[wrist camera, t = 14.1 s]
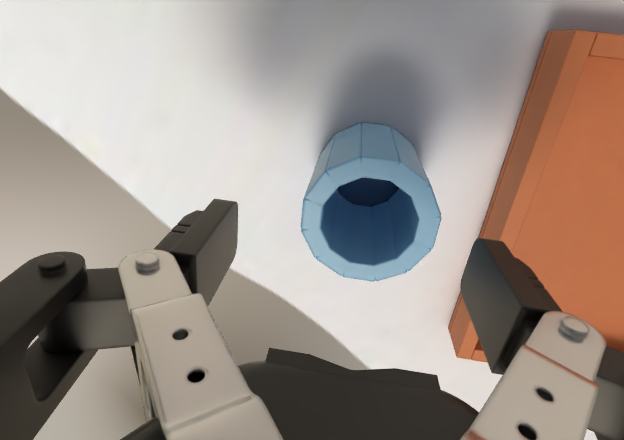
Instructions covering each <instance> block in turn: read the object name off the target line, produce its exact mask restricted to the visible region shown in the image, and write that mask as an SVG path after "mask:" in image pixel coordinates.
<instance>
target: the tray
mask: <svg viewBox="0 0 624 440" xmlns="http://www.w3.org/2000/svg"><path fill="white" fill-rule="evenodd" d="M479 238H484V239H491V240H498V241H503V242H504V243H505V244H506V246H507V247H508V249H509V250H510V252H511V253H512V254H513V256H514V257H515V258H518V259H520V260H521V261H522V262H524V263H525V264H526V265H527V266H529V267H530V268H531V269H532V270H533V272H534V273H535V274H536V276H537V277H538V280H540V281H541V283H542V284H543V285H544V289H547V291H548V292H549V294H550V295H551V296H552V298H553V299H554V300H555V302H556V303H557V304H558V306H559V307H560V309H561V310H562V311H563V312H565V313H569V314H572V315H575V316H577V317H579V318H581V319H583V320H585V321H587V322H588V323H590V324H591V325H593V326H594V327H595V328H596V329H598V330H599V332H600V333H601V334H602V335H603V336H604V338H605V340H606V346H608V347H611V348H613V349H616V350H619V351H622V352H624V35H622V34H613V33H603V32H594V31H584V30H557V31H548V33H547V36H546V39H545V42H544V45H543V48H542V51H541V54H540V57H539V60H538V63H537V66H536V69H535V72H534V75H533V78H532V81H531V83H530V86H529V89H528V92H527V95H526V98H525V101H524V104H523V107H522V110H521V113H520V116H519V119H518V122H517V125H516V128H515V131H514V134H513V137H512V140H511V143H510V146H509V149H508V152H507V155H506V158H505V161H504V164H503V167H502V170H501V173H500V176H499V179H498V182H497V185H496V188H495V191H494V194H493V197H492V200H491V203H490V206H489V209H488V212H487V215H486V218H485V221H484V224H483V227H482V230H481V233H480V236H479ZM448 329H449V333H450V336H451V339H452V342H453V346H454V349H455V353H456V356H457V357H458V358H464V359H471V360H475V361H481V362H487V359H486V357H485V354H484V351H483V349H482V346H481V344H480V341H479V339H478V336H477V334H476V331H475V329H474V326H473V323H472V321H471V318H470V316H469V313H468V311H467V308H466V306H465V303H464V300H463V298H462V295H461V292H460V295H459V298H458V301H457V304H456V307H455V310H454V313H453V316H452V319H451V322H450V325H449V328H448ZM487 363H488V362H487Z"/></svg>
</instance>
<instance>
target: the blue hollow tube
mask: <svg viewBox="0 0 624 440" xmlns="http://www.w3.org/2000/svg"><path fill="white" fill-rule="evenodd" d="M363 177H365V178H372V179H380V180H387V181H391V182H392V183H393V184H395V185H396V186H397V187H399V189H398V190H397V192H396V193H395V194H394V195H393V196H392V197H391V198H390V199H389V200H388V201H386V202H383V203H380V204H378V205H375V206H372V207H369V206H362V205H355V204H352V203H351V202H349V201H348V200H347V199H345V198H344V197H342V196H341V195H340V194H339V193H338V190H337V188H338V187H339V186H341V185H344V184H347V183H349V182H352V181H355V180H357V179H360V178H363ZM440 221H441V213H440V210H439V207H438V204H437V201H436V198H435V195H434V193H433V190H432V187H431V184H430V182H429V180H428V178H427V176H426V173H425V171H424V169H423V167H422V165H421V162H420V160H419V158H418V156H417V154H416V151H415V149H414V147H413V145H412V144H411V142H410V141H409V140H408V139H406V138H405V137H404V136H402V135H401V134H400V133H399V132H397V131H396V130H395V129H394V128H392V127H389V126H387V125H379V124H371V123H362V124H361V123H359V124H357V125H355V126H352V127H350V128H347V129H345V130H343V131H340V132H338V133H337V135H334V136H333V138H332V139H331V140H330V142H329V143H328V144H327V146H326V147H325V148H324V150H323V151H322V152H321V154H320V157H319V159H318V162H317V164H316V167H315V170H314V172H313V175H312V178H311V180H310V183H309V186H308V188H307V191H306V194H305V197H304V199H303V208H302V219H301V229H302V230H301V232H302V234H303V236H304V238H305V240H306V241H307V243H308V245H309V247H310V249H311V251H312V253H313V255H314V257H316V259H317V260H318V261H320V262H321V263H323V264H324V265H326V266H327V267H329V268H330V269H332V270H333V271H334V272H336V273H337V274H339V275H341V276H342V275H343V277H347V278H354V279H361V280H367V281H375V280H376V281H379V280H382V279H386V278H389V277H393V276H396V275H399V274H403V273H406V272H407V271H410V270H411V269H412V268H413V267H414V266H415V265H416V264H417V263H418V262H419V261H420V260H421V259H422V258H423V257H424V256H425V255H426V254H428V253H429V252H430V251H431V248H433V246H434V243H435V239H436V236H437V232H438V228H439V225H440Z"/></svg>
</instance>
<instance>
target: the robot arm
mask: <svg viewBox="0 0 624 440" xmlns="http://www.w3.org/2000/svg"><path fill="white" fill-rule="evenodd" d="M237 233H238V204H237V202H234V201H227V200H220V199H214V200H213V201H212V202H211V203H210V204H209V205H208V207H207V208H206V209H205V210H204V211H198V210H197V211H195V212H192V213H190V214H188V215H186V216H184V217H183V219H182V220H181V221H180V222H179V223H178V225H176V226H175V227H174V228H173V229H172V231H171V232H169V233H168V234H167V236H166V237H165V238H164V239H163V240H162V241H161V242H160V243H159V244H158V245H157V246H156V247H155V248H154V249H153V250H143V251H138V252H135V253H132V254H130V255H128V256H126V257H125V258H123V259H122V260H121V262H120V263H119V266H118V268H104V269H86V265H85V259H84V258H83V257H82V256H81V255H79V254H76V253H73V252H54V253H48V254H44V255H41V256H38V257H36V258H33V259H31V260H29V261H28V262H26V263H25V264H24V265H22V266H21V267H20V268H18V269H17V270H16V271H14V272H13V273H12V274H10V275H9V276H8V277H6V278H5V279H4V280H2V281H1V282H0V440H33V439H34V437H35V436H36V434H37V433H38V432H39V430H40V429H41V428H42V426H43V425H44V424H45V422H46V421H47V419H48V418H49V417H50V415H51V414H52V413H53V411H54V410H55V409H56V407H57V406H58V404H59V403H60V402H61V400H62V399H63V398H64V396H65V395H66V393H67V392H68V391H69V389H70V388H71V386H72V385H73V384H74V382H75V381H76V380H77V378H78V377H79V376H80V374H81V373H82V371H83V370H84V369H85V367H86V366H87V365H88V363H89V362H90V360H91V359H92V358H93V356H94V355H95V354H96V352H97V351H98V349H107V348H118V347H129V346H130V350H131V354H132V359H133V363H134V368H135V372H136V376H137V381H138V385H139V389H140V394H141V398H142V403H143V408H144V414H145V419H146V423H145V424H143V425H142V426H140V427H139V428H137V429H136V430H134V431H133V432H131V433H130V434H128V435H127V436H125V437H123V438H122V439H120V440H584V437H585V433H586V430H587V429H589V430H591V431H593V432H594V433H595V435H596V437H597V439H598V440H624V352H622V351H619V350H616V349H613V348H611V347H608V346H606V340H605V338H604V336H603V335H602V334H601V333H600V332H599V330H598V329H596V328H595V327H594V326H593V325H591V324H590V323H588V322H587V321H585V320H583V319H581V318H579V317H577V316H575V315H572V314H569V313H565V312H563V311H562V310H561V309H560V307H559V306H558V304H557V303H556V302H555V300H554V299H553V298H552V296H551V295H550V294H549V292H548V291H547V289H544V285H543V284H542V283H541V281H540V280H538V277H537V276H536V274H535V273H534V272H533V270H532V269H531V268H530V267H529V266H527V265H526V264H525V263H524V262H522V261H521V260H520V259H518V258H515V257H514V256H513V254H512V253H511V252H510V250H509V249H508V247H507V246H506V244H505V243H504V242H503V241H498V240H491V239H484V238H477V239H476V241H475V242H474V244H473V247H472V250H471V253H470V256H469V259H468V261H467V264H466V267H465V270H464V273H463V276H462V279H461V295H462V298H463V300H464V303H465V306H466V308H467V311H468V313H469V316H470V318H471V321H472V323H473V326H474V329H475V331H476V334H477V336H478V339H479V341H480V344H481V346H482V349H483V351H484V354H485V357H486V359H487V362H488V364H489V367H490V369H491V372H492V373H496V374H502V375H503V376H502V377H501V379H500V381H499V382H498V384H497V385H496V387H495V389H494V390H493V392H492V393H491V395H490V397H489V398H488V400H487V401H486V403H485V404H484V406H483V408H482V409H481V411H480V412H478V411H476V410H475V409H474V408H472V407H471V406H470V405H468V404H467V403H465V402H464V401H462V400H460V399H459V398H457V397H455V396H453V395H451V394H449V393H447V392H445V391H442V390H440V386H439V382H438V377H437V375H432V374H426V373H420V372H414V371H408V370H401V369H395V368H394V369H374V370H350V369H347V368H344V367H341V366H338V365H336V364H333V363H331V362H328V361H326V360H323V359H320V358H318V357H315V356H312V355H310V354H304V353H298V352H292V351H285V350H279V349H273V348H269V351H268V354H267V358H266V361H256V362H250V363H246V364H242V365H239V366H238V365H237V363H236V361H235V359H234V358H233V356H232V353H231V351H230V350H229V347H228V346H227V344H226V342H225V340H224V338H223V336H222V334H221V332H220V330H219V328H218V326H217V324H216V322H215V320H214V318H213V316H212V314H211V312H210V310H209V308H208V305H209V303H210V302H211V300H212V298H213V296H214V294H215V292H216V291H217V289H218V287H219V285H220V283H221V281H222V280H223V278H224V276H225V274H226V272H227V271H228V269H229V267H230V265H231V263H232V262H233V260H234V257H235V254H236V249H237ZM37 335H38V336H39V338H38V339H37V340H36V341H35V342H34V343H33V344H32V345H31V346H30V347H29V348H28V346H29V345H30V343H31V342H32V340H33V339H34V338H35V337H36V336H37ZM27 348H28V349H27Z"/></svg>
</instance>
